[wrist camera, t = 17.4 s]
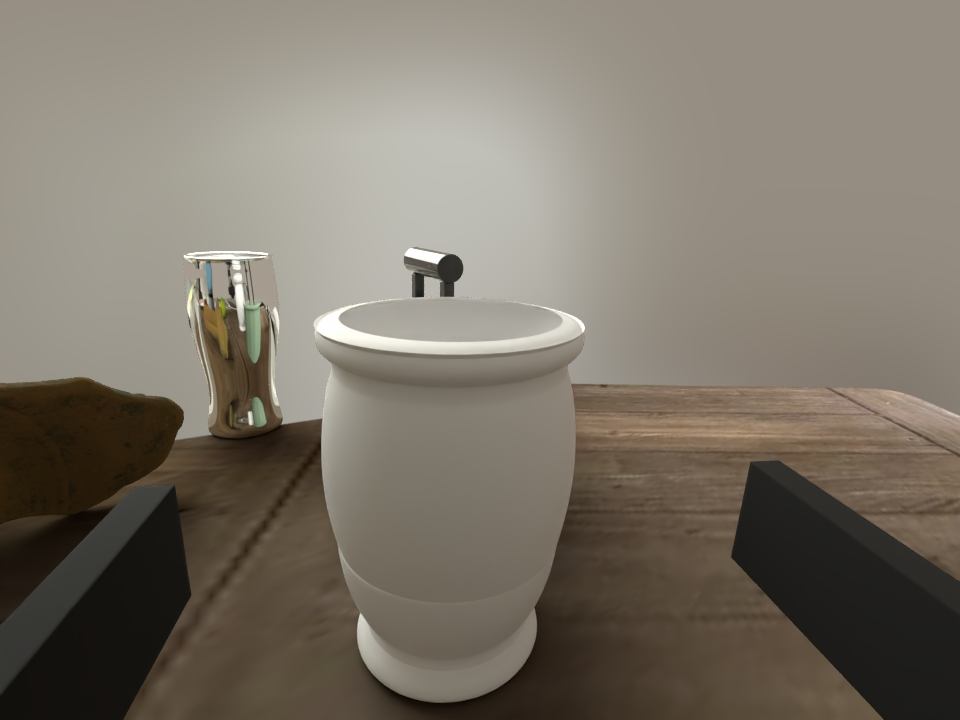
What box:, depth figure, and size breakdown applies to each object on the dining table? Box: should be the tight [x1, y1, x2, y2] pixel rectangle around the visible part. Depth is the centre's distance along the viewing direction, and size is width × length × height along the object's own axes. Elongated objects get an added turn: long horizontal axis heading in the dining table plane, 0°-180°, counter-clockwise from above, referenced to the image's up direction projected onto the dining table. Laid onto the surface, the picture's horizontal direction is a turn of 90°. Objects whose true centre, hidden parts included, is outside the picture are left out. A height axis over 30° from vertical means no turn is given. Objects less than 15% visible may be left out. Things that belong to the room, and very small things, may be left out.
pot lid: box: [404, 247, 463, 298], centre depth 35 cm, size 14×14×8 cm
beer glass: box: [183, 252, 283, 439], centre depth 43 cm, size 7×7×15 cm
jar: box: [314, 297, 585, 703], centre depth 22 cm, size 11×10×15 cm
